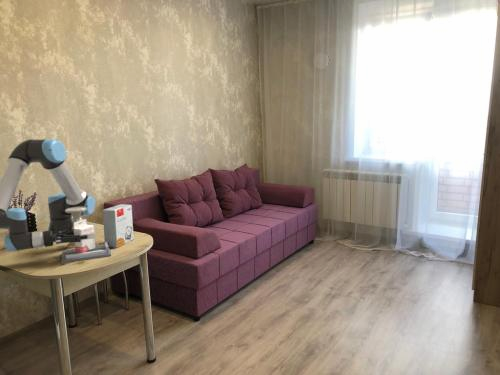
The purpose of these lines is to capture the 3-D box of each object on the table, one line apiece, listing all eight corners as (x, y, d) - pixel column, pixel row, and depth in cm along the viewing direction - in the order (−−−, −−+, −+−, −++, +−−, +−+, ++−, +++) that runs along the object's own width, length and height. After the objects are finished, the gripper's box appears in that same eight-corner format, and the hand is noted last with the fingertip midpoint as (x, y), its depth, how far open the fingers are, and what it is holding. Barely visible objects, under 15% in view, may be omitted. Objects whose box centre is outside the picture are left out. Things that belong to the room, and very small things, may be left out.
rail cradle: (62, 254, 200) (61, 245, 199) (108, 247, 208) (108, 239, 207) (61, 263, 187) (60, 254, 186) (111, 255, 196) (110, 247, 195)
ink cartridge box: (83, 253, 192) (80, 223, 190) (75, 251, 194) (72, 222, 191) (96, 247, 200) (93, 219, 197) (88, 246, 202) (86, 218, 199)
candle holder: (85, 240, 220) (82, 205, 217) (96, 245, 212) (92, 208, 208) (62, 246, 212) (59, 209, 208) (72, 251, 203) (68, 212, 200)
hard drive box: (116, 248, 207) (113, 210, 203) (104, 247, 209) (101, 210, 206) (134, 239, 221) (131, 204, 218) (122, 238, 224) (119, 203, 220)
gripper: (45, 240, 199) (94, 234, 208) (42, 253, 179) (96, 246, 188) (44, 225, 198) (92, 220, 207) (40, 237, 178) (94, 231, 187)
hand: (94, 232), depth 197 cm, fingers closed on ink cartridge box, 9 cm apart
